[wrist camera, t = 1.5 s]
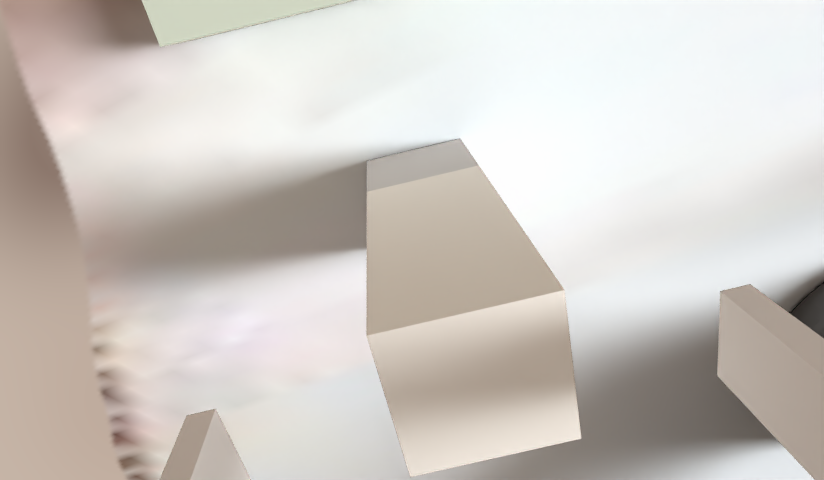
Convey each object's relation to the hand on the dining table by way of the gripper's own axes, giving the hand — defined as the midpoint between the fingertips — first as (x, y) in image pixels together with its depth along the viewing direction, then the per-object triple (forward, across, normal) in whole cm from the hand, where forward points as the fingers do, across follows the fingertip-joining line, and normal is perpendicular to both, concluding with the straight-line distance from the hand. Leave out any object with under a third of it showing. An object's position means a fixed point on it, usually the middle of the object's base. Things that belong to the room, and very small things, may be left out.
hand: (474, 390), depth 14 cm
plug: (+16, 0, 0) cm, 16 cm away
